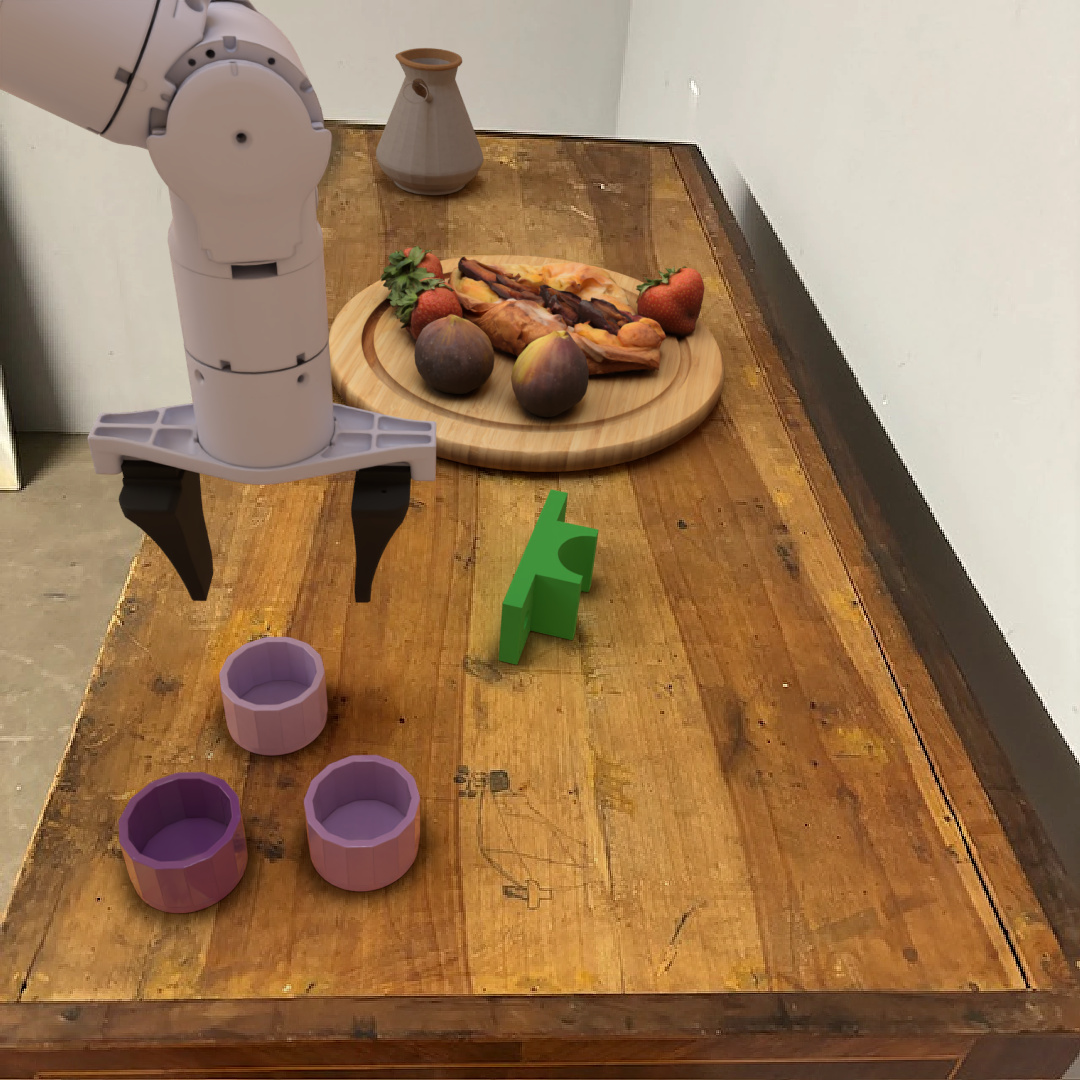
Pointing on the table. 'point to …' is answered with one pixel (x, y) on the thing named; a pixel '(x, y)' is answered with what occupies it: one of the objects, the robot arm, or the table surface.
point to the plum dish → (184, 841)
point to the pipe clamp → (548, 580)
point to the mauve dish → (363, 822)
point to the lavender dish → (274, 695)
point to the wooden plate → (530, 358)
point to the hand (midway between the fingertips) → (283, 588)
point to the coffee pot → (429, 127)
